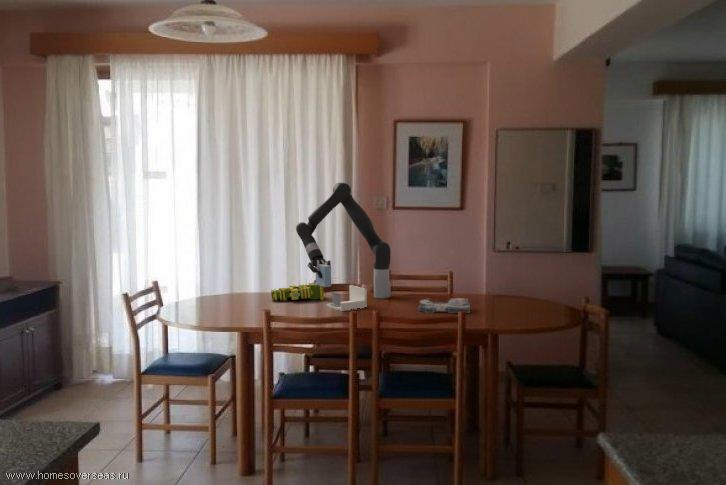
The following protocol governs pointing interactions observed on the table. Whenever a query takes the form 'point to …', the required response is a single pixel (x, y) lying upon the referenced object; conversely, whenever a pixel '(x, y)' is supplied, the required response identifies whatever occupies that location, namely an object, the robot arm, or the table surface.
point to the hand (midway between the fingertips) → (325, 277)
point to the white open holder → (356, 299)
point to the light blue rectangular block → (324, 276)
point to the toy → (298, 292)
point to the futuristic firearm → (445, 306)
